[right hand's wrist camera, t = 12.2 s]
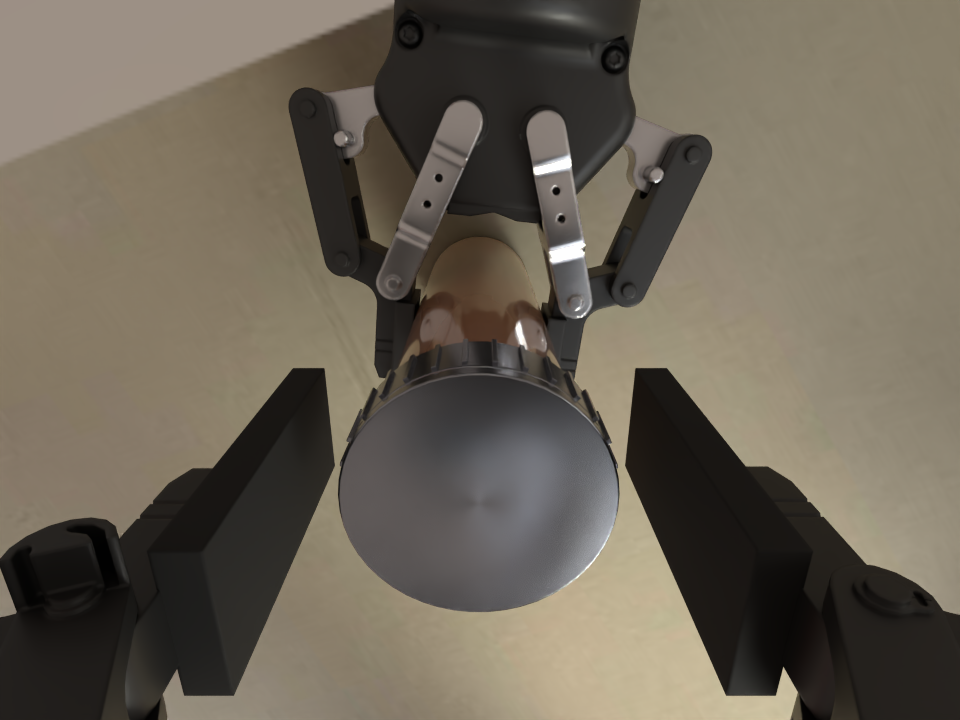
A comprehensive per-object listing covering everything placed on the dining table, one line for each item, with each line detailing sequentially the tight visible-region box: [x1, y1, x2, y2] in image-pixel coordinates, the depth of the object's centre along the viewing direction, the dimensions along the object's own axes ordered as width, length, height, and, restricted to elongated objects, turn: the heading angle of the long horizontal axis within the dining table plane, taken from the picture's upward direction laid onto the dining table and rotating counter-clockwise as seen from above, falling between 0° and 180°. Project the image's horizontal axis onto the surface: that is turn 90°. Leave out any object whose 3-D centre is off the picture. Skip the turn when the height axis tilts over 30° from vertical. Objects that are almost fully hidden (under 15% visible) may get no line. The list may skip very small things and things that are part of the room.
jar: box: [397, 237, 561, 369], centre depth 20 cm, size 5×5×18 cm
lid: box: [338, 339, 619, 612], centre depth 12 cm, size 6×6×2 cm
